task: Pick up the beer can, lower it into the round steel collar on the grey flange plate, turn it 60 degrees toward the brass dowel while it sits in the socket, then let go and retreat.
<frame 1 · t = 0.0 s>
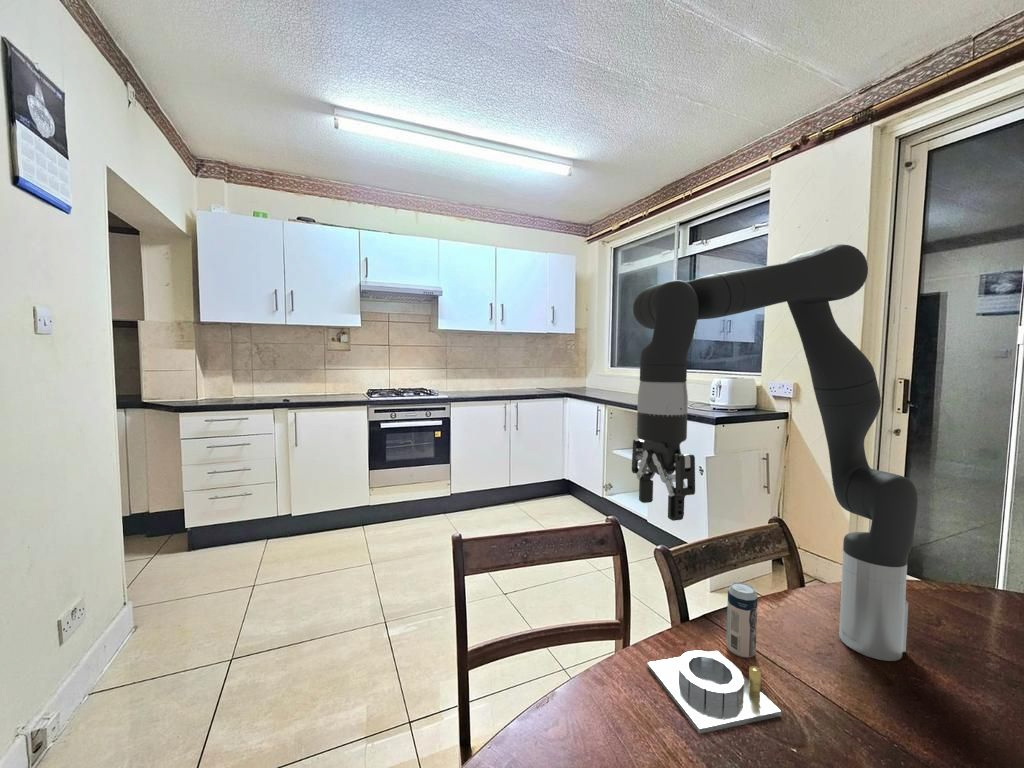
hand: (659, 510, 70), 29 cm above the table, fingers open, 8 cm apart
flange collar: (709, 689, 71), on the table
beer can: (740, 652, 80), on the table
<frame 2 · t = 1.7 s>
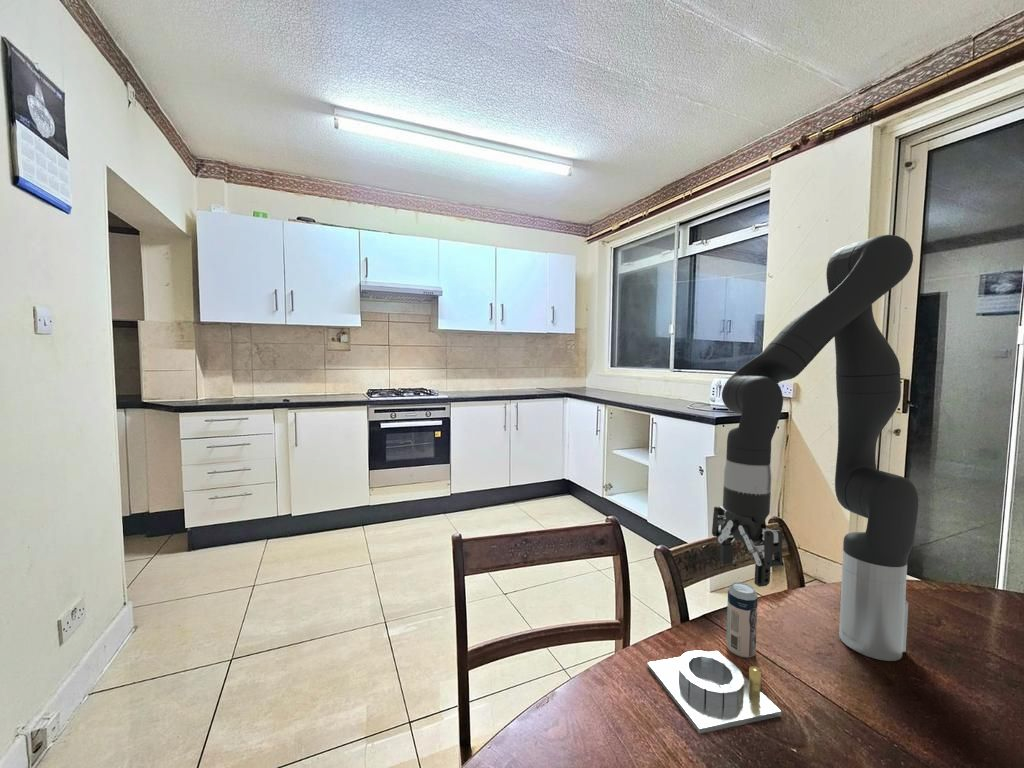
hand: (742, 573, 80), 15 cm above the table, fingers open, 8 cm apart
nothing on the table moved.
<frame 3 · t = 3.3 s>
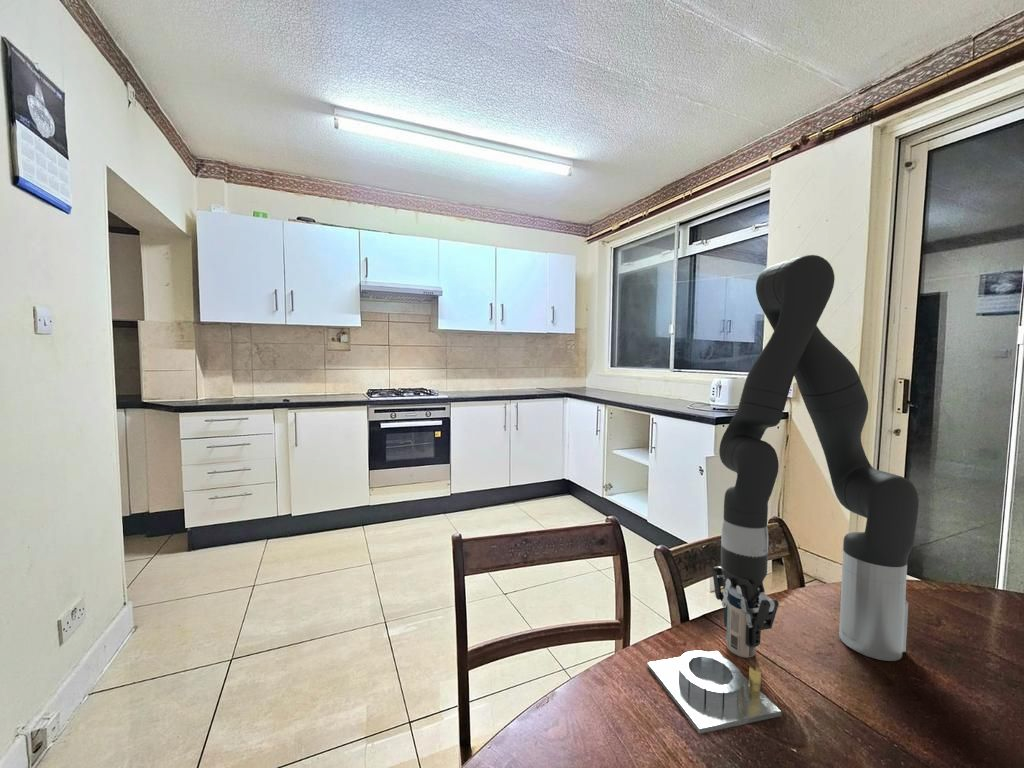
hand: (740, 635, 80), 3 cm above the table, fingers closed on beer can, 4 cm apart
beer can: (740, 652, 80), on the table, touching gripper
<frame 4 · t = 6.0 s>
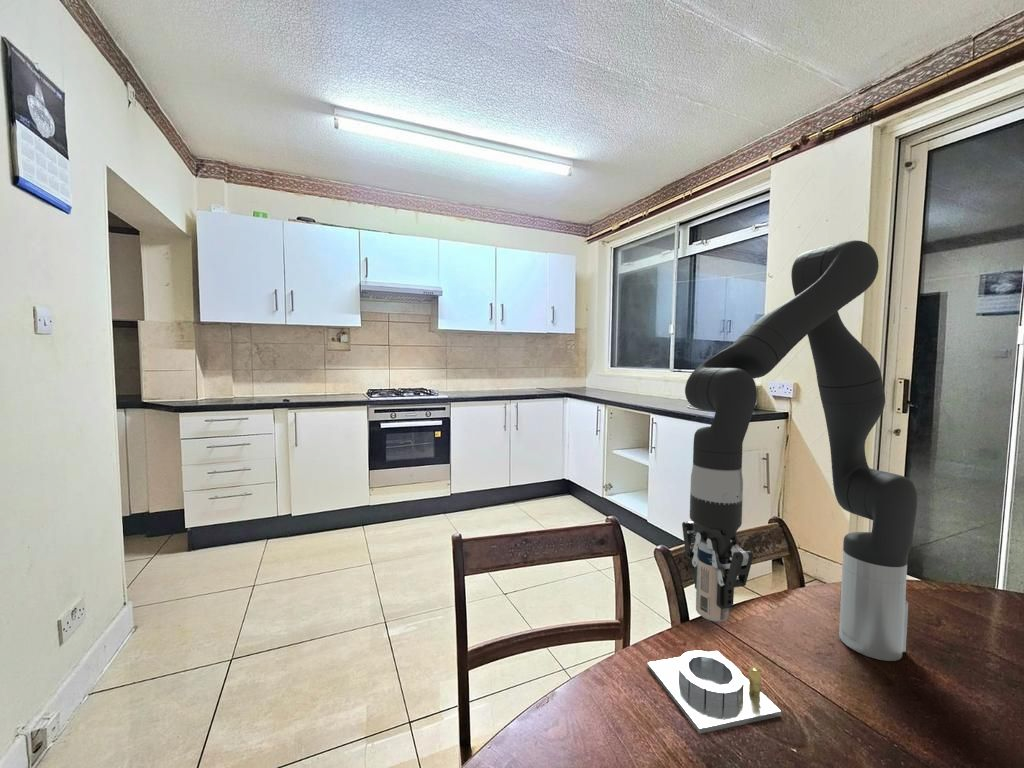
hand: (712, 597, 70), 15 cm above the table, fingers closed on beer can, 4 cm apart
beer can: (711, 616, 70), point 12 cm above the table, touching gripper
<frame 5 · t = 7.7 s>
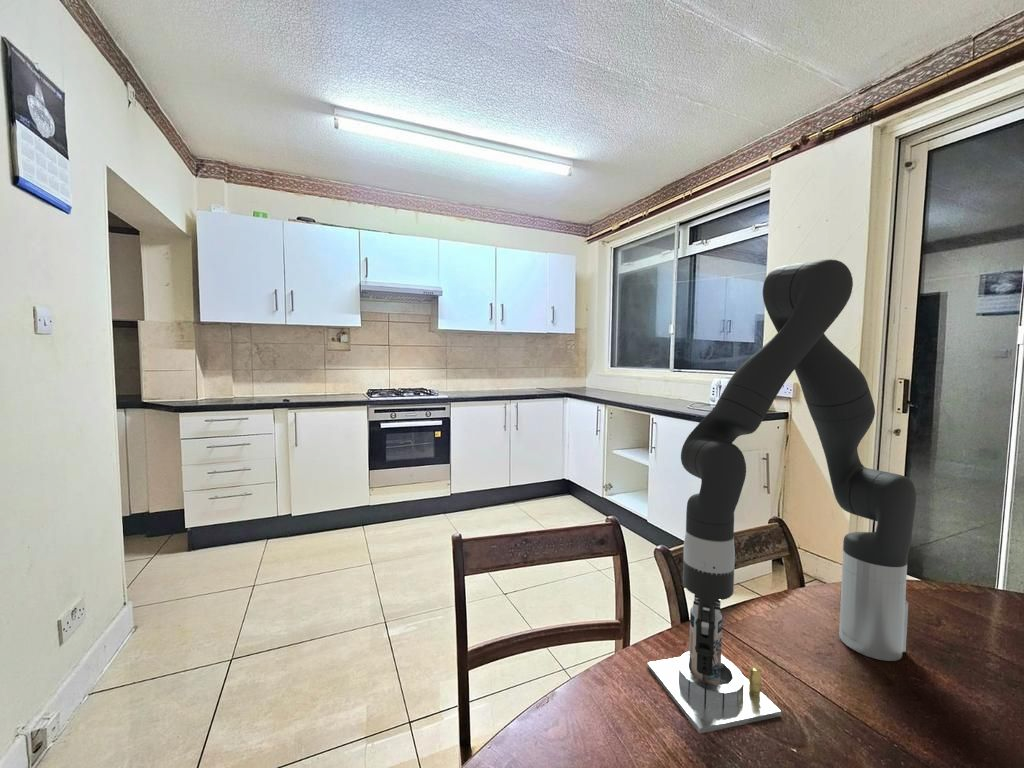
hand: (705, 662, 71), 4 cm above the table, fingers closed on beer can, 5 cm apart
beer can: (704, 681, 71), point 1 cm above the table, touching gripper
when the fingers open (4 cm above the table, at t = 8.9 s): beer can stays where it is, resting on flange collar.
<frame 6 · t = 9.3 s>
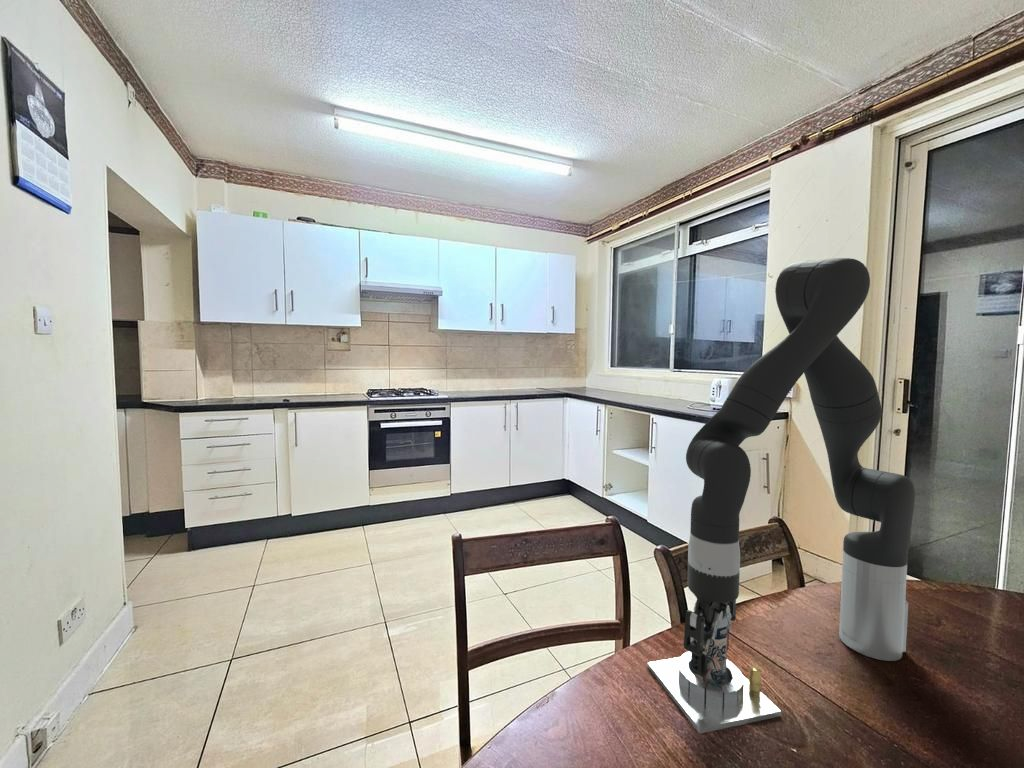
hand: (710, 660, 71), 5 cm above the table, fingers open, 8 cm apart
beer can: (709, 685, 71), point 1 cm above the table, touching flange collar
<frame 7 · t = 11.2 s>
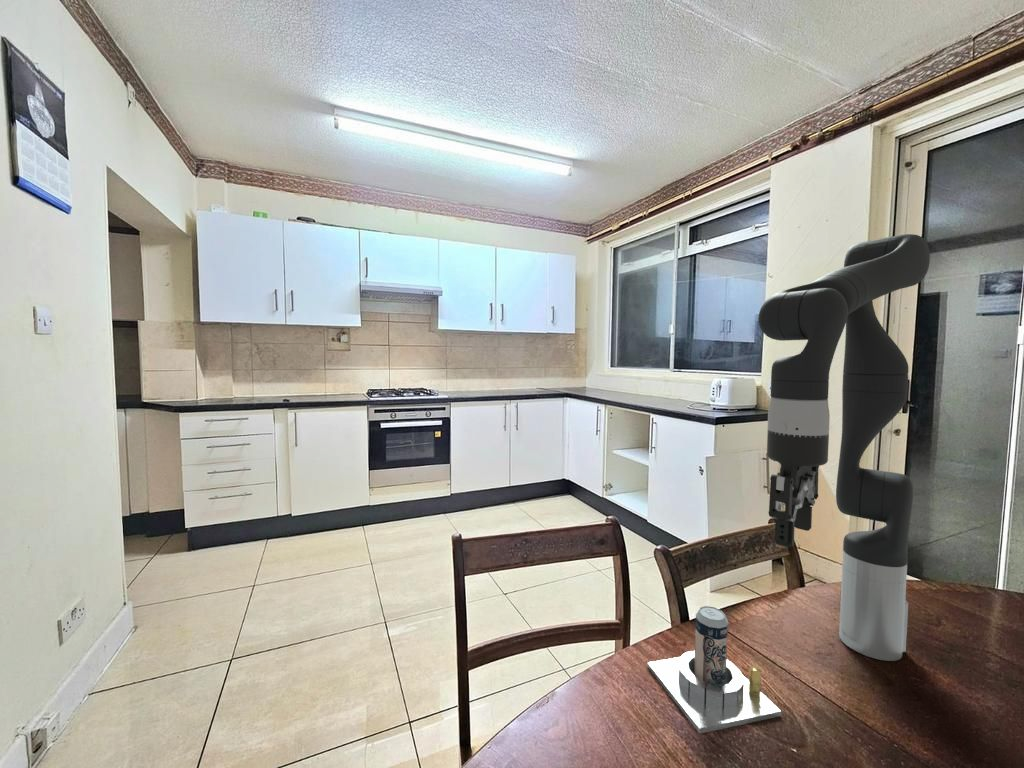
hand: (793, 536, 65), 27 cm above the table, fingers open, 8 cm apart
nothing on the table moved.
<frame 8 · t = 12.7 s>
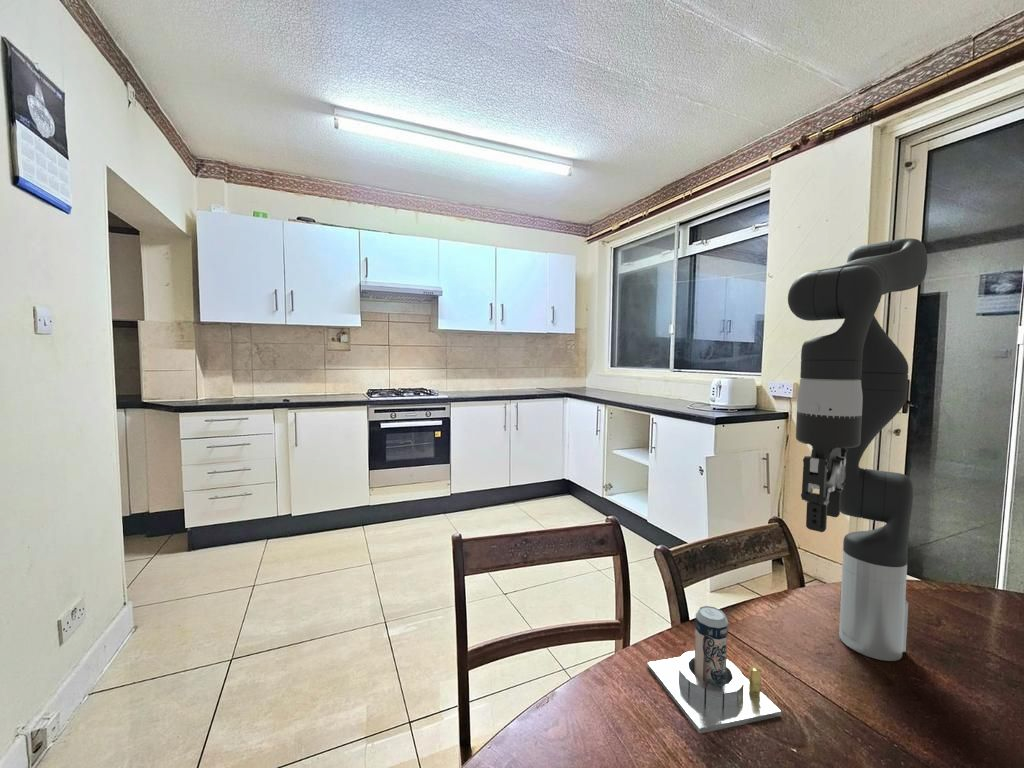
hand: (823, 522, 63), 30 cm above the table, fingers open, 8 cm apart
nothing on the table moved.
at the end: beer can 0.1 cm off-centre on the flange collar, point 0.6 cm above the flange collar's base; beer can tilted 0°; the gripper is holding nothing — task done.
